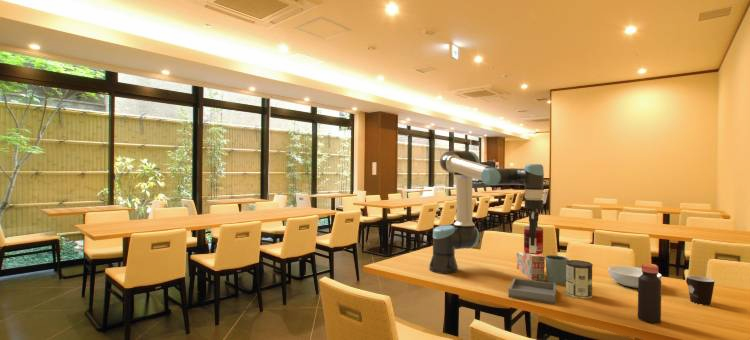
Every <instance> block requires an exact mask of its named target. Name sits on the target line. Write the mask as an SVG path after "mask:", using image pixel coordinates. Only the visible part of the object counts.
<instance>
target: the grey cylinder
mask: <svg viewBox="0 0 750 340" xmlns="http://www.w3.org/2000/svg"><path fill="white" fill-rule="evenodd" d="M544 256H545V269H546V271H545V274H546V282H548V283H555V284H556V285H559V286H560V285H561V286H562V285H566V261H568V260H569V257H565V256H562V255H556V254H555V255H552V254H551V255H550V254H549V255H544Z"/></svg>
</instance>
